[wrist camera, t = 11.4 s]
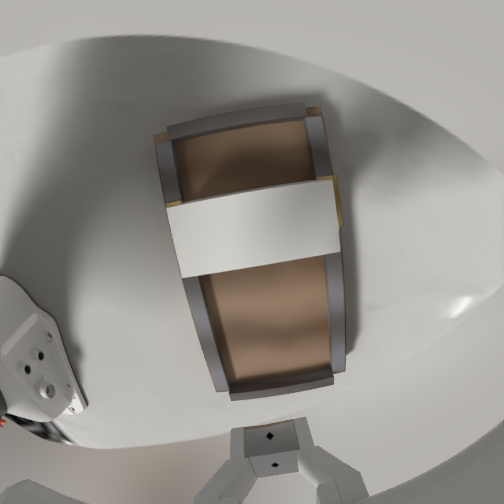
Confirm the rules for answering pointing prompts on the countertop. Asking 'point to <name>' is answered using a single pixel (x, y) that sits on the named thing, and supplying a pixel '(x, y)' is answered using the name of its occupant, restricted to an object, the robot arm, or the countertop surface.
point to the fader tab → (255, 227)
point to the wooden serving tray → (265, 276)
